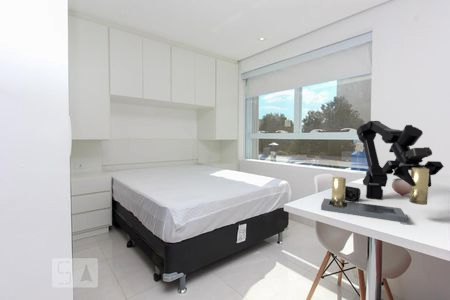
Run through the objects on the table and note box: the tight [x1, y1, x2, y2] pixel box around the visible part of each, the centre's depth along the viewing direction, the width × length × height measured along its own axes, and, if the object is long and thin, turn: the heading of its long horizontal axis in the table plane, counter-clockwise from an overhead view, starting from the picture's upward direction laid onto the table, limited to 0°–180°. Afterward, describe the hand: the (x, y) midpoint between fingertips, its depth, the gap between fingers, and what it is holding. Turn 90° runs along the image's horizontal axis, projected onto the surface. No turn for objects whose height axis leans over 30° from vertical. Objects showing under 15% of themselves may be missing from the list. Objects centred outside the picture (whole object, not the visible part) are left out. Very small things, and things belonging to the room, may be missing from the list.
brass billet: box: [409, 167, 429, 206], centre depth 83 cm, size 5×5×13 cm
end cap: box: [345, 185, 362, 202], centre depth 110 cm, size 10×7×7 cm
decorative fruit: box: [391, 177, 410, 196], centre depth 118 cm, size 9×8×10 cm
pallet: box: [320, 198, 408, 225], centre depth 91 cm, size 28×12×2 cm, turn 61°
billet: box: [331, 176, 347, 207], centre depth 94 cm, size 5×5×13 cm
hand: (421, 186), depth 82 cm, fingers closed on brass billet, 5 cm apart
